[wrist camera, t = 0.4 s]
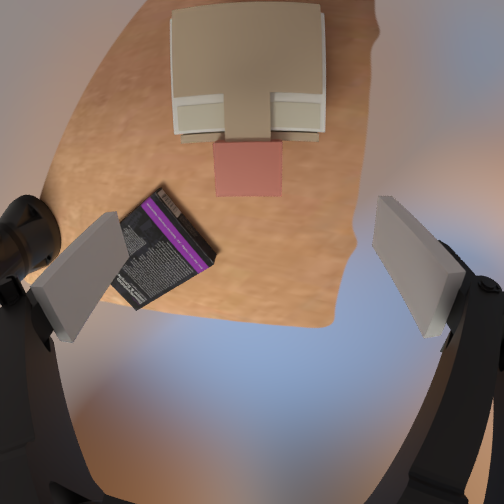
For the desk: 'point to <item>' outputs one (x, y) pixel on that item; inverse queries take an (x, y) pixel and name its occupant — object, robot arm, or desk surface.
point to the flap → (247, 79)
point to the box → (159, 251)
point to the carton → (281, 112)
